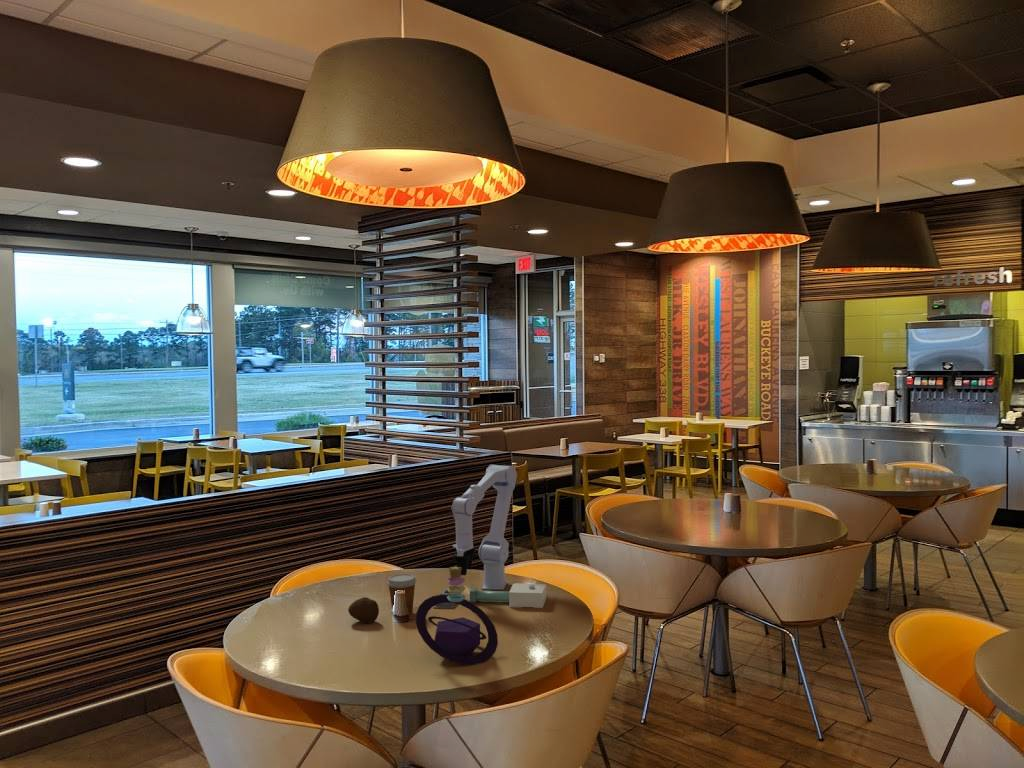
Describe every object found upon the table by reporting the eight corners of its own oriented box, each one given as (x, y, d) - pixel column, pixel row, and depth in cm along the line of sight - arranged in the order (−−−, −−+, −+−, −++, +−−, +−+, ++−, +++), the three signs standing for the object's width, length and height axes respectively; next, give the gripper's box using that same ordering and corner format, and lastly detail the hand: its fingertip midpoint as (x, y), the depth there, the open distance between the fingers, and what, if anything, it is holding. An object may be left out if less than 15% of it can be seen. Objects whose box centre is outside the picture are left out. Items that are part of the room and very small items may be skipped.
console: (443, 594, 280) (443, 588, 280) (462, 594, 279) (462, 588, 279) (433, 608, 265) (432, 601, 265) (452, 608, 264) (452, 602, 264)
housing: (513, 597, 274) (513, 581, 273) (546, 598, 272) (545, 581, 272) (509, 607, 264) (508, 589, 264) (542, 608, 262) (542, 590, 262)
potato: (376, 626, 249) (375, 601, 249) (345, 626, 250) (345, 601, 249) (382, 618, 256) (381, 594, 256) (352, 618, 257) (351, 594, 257)
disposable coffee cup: (415, 618, 255) (414, 581, 255) (385, 618, 256) (384, 582, 255) (419, 608, 265) (418, 573, 264) (390, 609, 265) (389, 573, 265)
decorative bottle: (442, 677, 209) (440, 583, 207) (404, 654, 226) (401, 567, 224) (511, 656, 222) (509, 568, 221) (470, 635, 239) (468, 553, 238)
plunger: (447, 595, 277) (447, 587, 277) (455, 595, 276) (455, 588, 276) (445, 597, 274) (445, 590, 274) (453, 597, 274) (453, 590, 273)
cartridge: (471, 598, 273) (471, 588, 273) (515, 599, 270) (514, 589, 270) (469, 602, 269) (469, 591, 269) (513, 603, 267) (513, 592, 267)
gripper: (457, 527, 279) (458, 565, 280) (447, 537, 265) (448, 577, 265) (477, 527, 278) (478, 566, 279) (468, 537, 264) (469, 578, 264)
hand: (465, 571), depth 272 cm, fingers open, 7 cm apart
